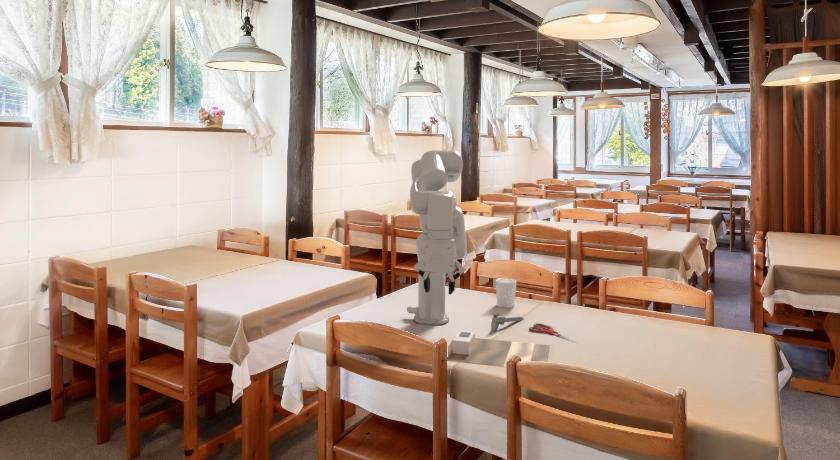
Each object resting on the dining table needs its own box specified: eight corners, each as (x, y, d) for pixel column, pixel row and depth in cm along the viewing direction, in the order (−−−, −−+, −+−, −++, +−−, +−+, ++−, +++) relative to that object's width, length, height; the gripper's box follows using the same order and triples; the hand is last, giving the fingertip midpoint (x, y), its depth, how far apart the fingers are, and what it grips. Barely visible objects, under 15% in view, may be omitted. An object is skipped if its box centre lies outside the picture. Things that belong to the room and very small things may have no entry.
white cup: (494, 307, 226) (495, 282, 224) (495, 302, 233) (496, 277, 232) (515, 308, 224) (516, 283, 223) (515, 303, 232) (516, 278, 231)
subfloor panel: (439, 361, 170) (439, 359, 170) (455, 337, 191) (455, 336, 191) (545, 372, 162) (545, 371, 162) (549, 346, 183) (549, 345, 183)
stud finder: (452, 353, 175) (452, 339, 174) (458, 343, 184) (458, 330, 183) (469, 354, 174) (469, 341, 173) (474, 344, 182) (474, 332, 182)
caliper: (493, 333, 196) (494, 315, 195) (490, 332, 196) (491, 314, 196) (523, 319, 211) (524, 302, 211) (521, 319, 212) (521, 302, 211)
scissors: (579, 346, 185) (579, 341, 184) (524, 330, 199) (524, 326, 199) (591, 340, 190) (592, 336, 190) (537, 326, 205) (537, 322, 204)
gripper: (408, 235, 174) (408, 293, 177) (466, 238, 170) (464, 297, 172) (415, 231, 181) (415, 287, 184) (470, 234, 177) (469, 291, 180)
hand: (439, 292), depth 178 cm, fingers open, 6 cm apart
